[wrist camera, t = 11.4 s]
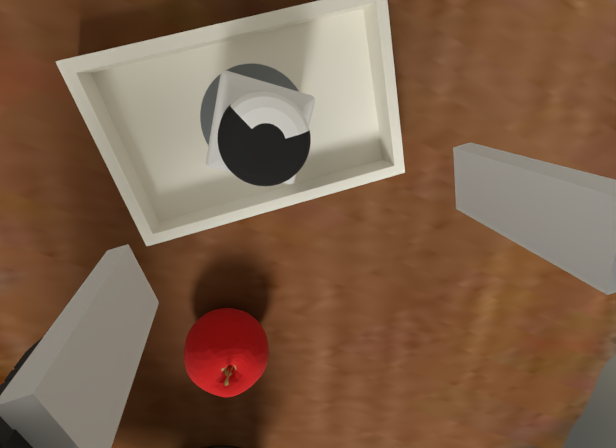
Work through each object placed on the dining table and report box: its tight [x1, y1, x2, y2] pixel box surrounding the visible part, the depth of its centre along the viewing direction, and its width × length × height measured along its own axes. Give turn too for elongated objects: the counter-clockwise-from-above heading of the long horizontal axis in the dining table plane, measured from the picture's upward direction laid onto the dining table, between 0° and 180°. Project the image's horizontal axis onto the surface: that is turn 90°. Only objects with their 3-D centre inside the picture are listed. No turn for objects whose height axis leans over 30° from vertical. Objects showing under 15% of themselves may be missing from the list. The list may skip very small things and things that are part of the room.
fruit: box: [184, 308, 269, 397], centre depth 37 cm, size 9×9×10 cm
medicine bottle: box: [206, 71, 315, 186], centre depth 27 cm, size 7×7×12 cm
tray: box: [55, 0, 405, 246], centre depth 31 cm, size 26×16×4 cm, turn 103°
